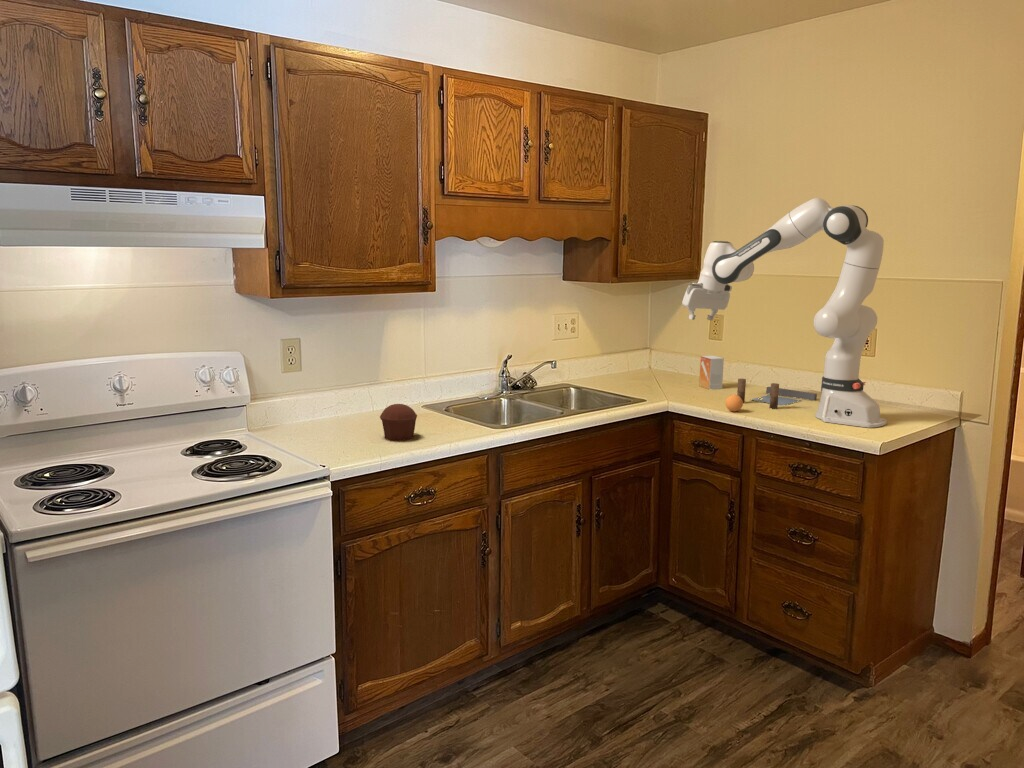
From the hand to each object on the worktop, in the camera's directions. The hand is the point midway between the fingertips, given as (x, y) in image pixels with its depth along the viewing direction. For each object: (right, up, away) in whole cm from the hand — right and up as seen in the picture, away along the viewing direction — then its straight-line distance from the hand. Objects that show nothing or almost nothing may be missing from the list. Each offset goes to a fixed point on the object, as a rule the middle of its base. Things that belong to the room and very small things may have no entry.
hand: (700, 319), depth 292 cm
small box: (+12, -26, +32) cm, 43 cm away
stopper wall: (+39, -29, +14) cm, 51 cm away
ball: (+8, -31, -15) cm, 35 cm away
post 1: (+15, -31, +1) cm, 35 cm away
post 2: (+25, -33, -8) cm, 42 cm away
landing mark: (+30, -31, +6) cm, 43 cm away
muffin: (-106, -41, -55) cm, 126 cm away
